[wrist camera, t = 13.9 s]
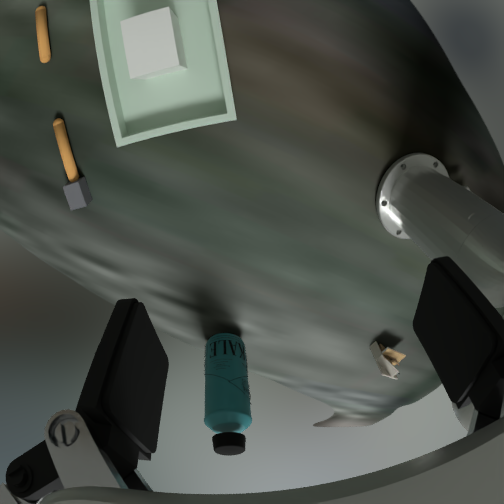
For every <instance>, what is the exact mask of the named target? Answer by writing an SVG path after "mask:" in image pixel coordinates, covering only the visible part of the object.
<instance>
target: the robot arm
mask: <svg viewBox="0 0 504 504" xmlns="http://www.w3.org/2000/svg"><path fill="white" fill-rule="evenodd" d="M376 209H377V214H378V217H379V220H380V222H381V224H382V225H383V226H384V227H385V229H386V230H387V231H388V232H389V233H391V234H392V235H394V236H395V237H398V238H402V239H412V240H413V241H414V242H415V243H416V244H417V245H418V246H419V248H420V249H421V250H422V251H423V252H424V253H425V254H426V255H427V256H428V257H429V258H430V259H431V260H432V261H431V263H430V264H429V265H428V267H427V272H426V276H425V280H424V284H423V288H422V292H421V295H420V299H419V303H418V306H417V310H416V313H415V316H414V320H413V329H414V331H415V333H416V335H417V337H418V338H419V340H420V342H421V344H422V346H423V347H424V349H425V351H426V353H427V355H428V357H429V358H430V360H431V362H432V364H433V366H434V368H435V370H436V372H437V374H438V376H439V378H440V380H441V382H442V384H443V385H444V388H445V390H446V392H447V394H448V396H449V398H450V400H451V401H452V407H453V410H454V412H455V414H456V416H457V418H458V420H459V421H460V423H461V424H462V425H463V427H464V428H465V429H466V430H467V431H468V434H467V436H466V437H464V438H462V439H460V440H458V441H456V442H454V443H451V444H449V445H447V446H445V447H442V448H440V449H438V450H435V451H433V452H430V453H428V454H425V455H423V456H421V457H418V458H415V459H412V460H409V461H407V462H404V463H401V464H398V465H395V466H392V467H389V468H386V469H383V470H379V471H376V472H372V473H369V474H365V475H361V476H357V477H353V478H349V479H345V480H341V481H336V482H331V483H326V484H321V485H316V486H310V487H303V488H296V489H289V490H281V491H272V492H262V493H246V494H178V493H163V492H153V490H152V489H151V488H150V486H149V485H148V484H147V483H146V481H145V480H144V478H143V477H142V475H141V474H140V473H139V471H138V470H137V464H138V459H139V460H151V453H155V451H156V448H157V441H158V440H157V439H158V433H159V425H160V418H161V411H162V404H163V398H164V391H165V385H166V379H167V373H168V366H169V362H168V357H167V355H166V353H165V351H164V349H163V346H162V344H161V342H160V340H159V338H158V336H157V334H156V332H155V329H154V327H153V325H152V322H151V320H150V318H149V316H148V313H147V311H146V309H145V306H144V304H143V303H142V302H138V300H137V299H135V298H132V299H121V300H118V301H117V303H116V305H115V308H114V310H113V312H112V315H111V317H110V320H109V322H108V324H107V327H106V329H105V332H104V334H103V337H102V339H101V342H100V344H99V346H98V348H97V351H96V353H95V356H94V359H93V361H92V364H91V367H90V369H89V372H88V375H87V378H86V381H85V383H84V386H83V389H82V392H81V395H80V398H79V401H78V404H77V408H76V411H73V410H69V409H67V410H61V411H59V412H56V413H55V414H54V415H53V416H52V417H51V418H50V419H49V420H48V422H47V424H46V427H45V433H44V436H45V440H44V441H43V442H41V443H39V444H38V445H36V446H35V447H33V448H32V449H30V450H29V451H27V452H26V453H24V454H23V455H21V456H19V457H18V458H16V459H15V460H13V461H12V462H11V463H10V465H9V466H8V468H7V472H6V483H7V484H4V483H2V484H1V485H0V504H504V315H503V317H502V316H501V315H500V314H499V313H498V311H497V310H496V309H495V308H494V307H504V214H503V213H501V212H500V211H499V210H497V209H496V208H494V207H493V206H492V205H490V204H489V203H487V202H486V201H484V200H483V199H481V198H480V197H478V196H477V195H475V194H474V193H472V192H471V191H470V190H469V187H468V186H461V185H459V184H458V183H456V182H455V181H453V180H451V179H450V178H449V175H448V172H447V170H446V168H445V167H444V165H443V164H442V163H441V162H440V161H439V160H438V159H436V158H435V157H433V156H431V155H428V154H425V153H412V154H408V155H405V156H403V157H402V158H400V159H398V160H397V161H396V162H395V163H393V164H392V165H391V166H390V168H389V169H388V170H387V171H386V173H385V174H384V176H383V178H382V180H381V182H380V185H379V187H378V191H377V196H376Z"/></svg>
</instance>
